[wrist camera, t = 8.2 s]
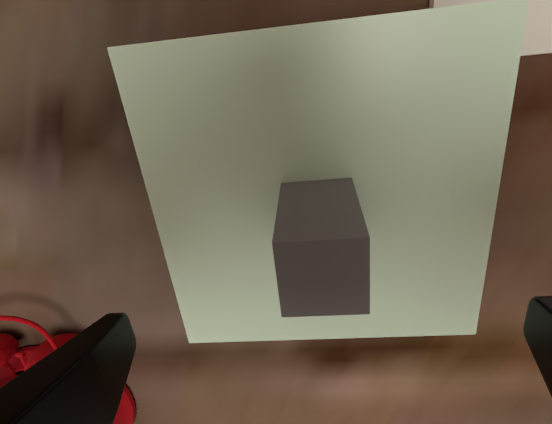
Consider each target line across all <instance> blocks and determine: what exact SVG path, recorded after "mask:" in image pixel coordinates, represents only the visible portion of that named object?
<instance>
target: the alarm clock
mask: <svg viewBox="0 0 552 424" xmlns="http://www.w3.org/2000/svg"><path fill="white" fill-rule="evenodd" d="M0 320H8V321H16V322H20V323H24V324H28V325H29V326H31V327H33V328H35V329H37V330H38V331H39V332H40V333H41V334H42V335H43V336H44V337H46V339H47V340H45V341H44V342H43V343H41V344H40V345H39V346H28V347H24V348H20V349H17V348H18V346H19V342H18V340H17V339H16V338H15V337H13V336H12V335H9V334H5V333H2V334H0V388H1V387H2V386H4V385H5V384H7V383H8V382H9V381H11V380H12V379H14V378H15V377H17V376H18V375H20V374H21V373H22V372H24V371H25V370H27V369H28V368H30V367H31V366H33V365H34V364H35V363H37V362H38V361H40V360H41V359H43V358H44V357H46V356H47V355H48V354H50V353H51V352H53V351H54V350H56V349H57V348H59V347H60V346H61V345H63V344H64V343H66V342H67V341H69V340H70V339H72V338H73V337H74V336H76V335H77V334H75V333H67V334H60V335H56V336H54V337H51V336H50V335H49V333H48V332H47V331H46V330H45V329H43V328H42V327H41V326H40V325H38V324H37V323H35V322H32V321H30V320H27V319H24V318H20V317H15V316H0ZM135 414H136V409H135V403H134V399H133V397H132V395H131V393H130V391H129V389H128V388H127V387H126V385H125V388H124V391H123V395H122V398H121V402H120V405H119V408H118V411H117V414H116V416H115V419H114V422H113V424H133V422H134V419H135Z"/></svg>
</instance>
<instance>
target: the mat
mask: <svg viewBox="0 0 552 424" xmlns="http://www.w3.org/2000/svg"><path fill="white" fill-rule="evenodd" d="M488 1H497V0H430V3H429V9H430V8H438V7H447V6H455V5H463V4H472V3H480V2H488ZM545 53H552V0H529V5H528V11H527V17H526V23H525V30H524V36H523V42H522V48H521V55H520V56H525V55H535V54H545Z"/></svg>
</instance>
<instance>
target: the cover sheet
mask: <svg viewBox="0 0 552 424" xmlns="http://www.w3.org/2000/svg"><path fill="white" fill-rule="evenodd" d="M528 5H529V0H497V1H488V2H480V3H472V4H463V5H455V6H447V7H438V8H430V9H422V10H413V11H405V12H397V13H389V14H380V15H372V16H364V17H355V18H347V19H339V20H330V21H322V22H314V23H305V24H297V25H289V26H280V27H272V28H264V29H255V30H247V31H239V32H230V33H222V34H214V35H206V36H197V37H189V38H181V39H172V40H164V41H156V42H147V43H139V44H131V45H122V46H114V47H107V49H108V53H109V57H110V60H111V64H112V67H113V71H114V75H115V78H116V82H117V85H118V89H119V93H120V96H121V100H122V103H123V107H124V111H125V114H126V118H127V121H128V125H129V129H130V132H131V136H132V139H133V143H134V147H135V150H136V154H137V157H138V161H139V164H140V168H141V172H142V175H143V179H144V182H145V186H146V190H147V193H148V197H149V200H150V204H151V208H152V211H153V215H154V218H155V222H156V226H157V229H158V233H159V236H160V240H161V244H162V247H163V251H164V254H165V258H166V262H167V265H168V269H169V272H170V276H171V280H172V283H173V287H174V290H175V294H176V298H177V301H178V305H179V308H180V312H181V315H182V319H183V323H184V326H185V330H186V333H187V337H188V341H189V343H205V342H239V341H272V340H305V339H339V338H372V337H406V336H439V335H473V334H476V330H477V324H478V317H479V311H480V305H481V299H482V292H483V286H484V280H485V274H486V267H487V261H488V255H489V249H490V242H491V236H492V230H493V224H494V217H495V211H496V205H497V199H498V192H499V186H500V180H501V174H502V167H503V161H504V155H505V148H506V142H507V136H508V130H509V123H510V117H511V111H512V105H513V98H514V92H515V86H516V80H517V73H518V67H519V61H520V55H521V48H522V42H523V36H524V30H525V23H526V17H527V11H528Z"/></svg>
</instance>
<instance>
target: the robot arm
mask: <svg viewBox="0 0 552 424" xmlns="http://www.w3.org/2000/svg"><path fill="white" fill-rule="evenodd" d="M523 331H524V336H525V338H526V341H527V343H528V345H529V347H530V350H531V352H532V354H533V356H534V359H535V361H536V363H537V365H538V368H539V370H540V372H541V374H542V376H543V379H544V381H545V383H546V385H547V388H548V390H549V392H550V394H551V396H552V296H537V297H533V298H531V300H530V301H529V304H528V309H527V313H526V317H525V321H524V326H523ZM135 349H136V337H135V334H134V331H133V329H132V326H131V323H130V320H129V318H128V316H127V314H125V313H109V314H106V315H105V316H103V317H102V318H101V319H99V320H98V321H96V322H95V323H93V324H92V325H90V326H89V327H88V328H86V329H85V330H83V331H82V332H80V333H79V334H77V335H76V336H74V337H73V338H72V339H70V340H69V341H67V342H66V343H64V344H63V345H61V346H60V347H59V348H57V349H56V350H54V351H53V352H51V353H50V354H48V355H47V356H46V357H44V358H43V359H41V360H40V361H38V362H37V363H35V364H34V365H33V366H31V367H30V368H28V369H27V370H25V371H24V372H22V373H21V374H20V375H18V376H17V377H15V378H14V379H12V380H11V381H9V382H8V383H7V384H5V385H4V386H2V387H1V388H0V424H113V422H114V419H115V416H116V414H117V411H118V408H119V405H120V402H121V398H122V395H123V391H124V388H125V384H126V381H127V377H128V374H129V370H130V367H131V363H132V360H133V357H134V353H135Z"/></svg>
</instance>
